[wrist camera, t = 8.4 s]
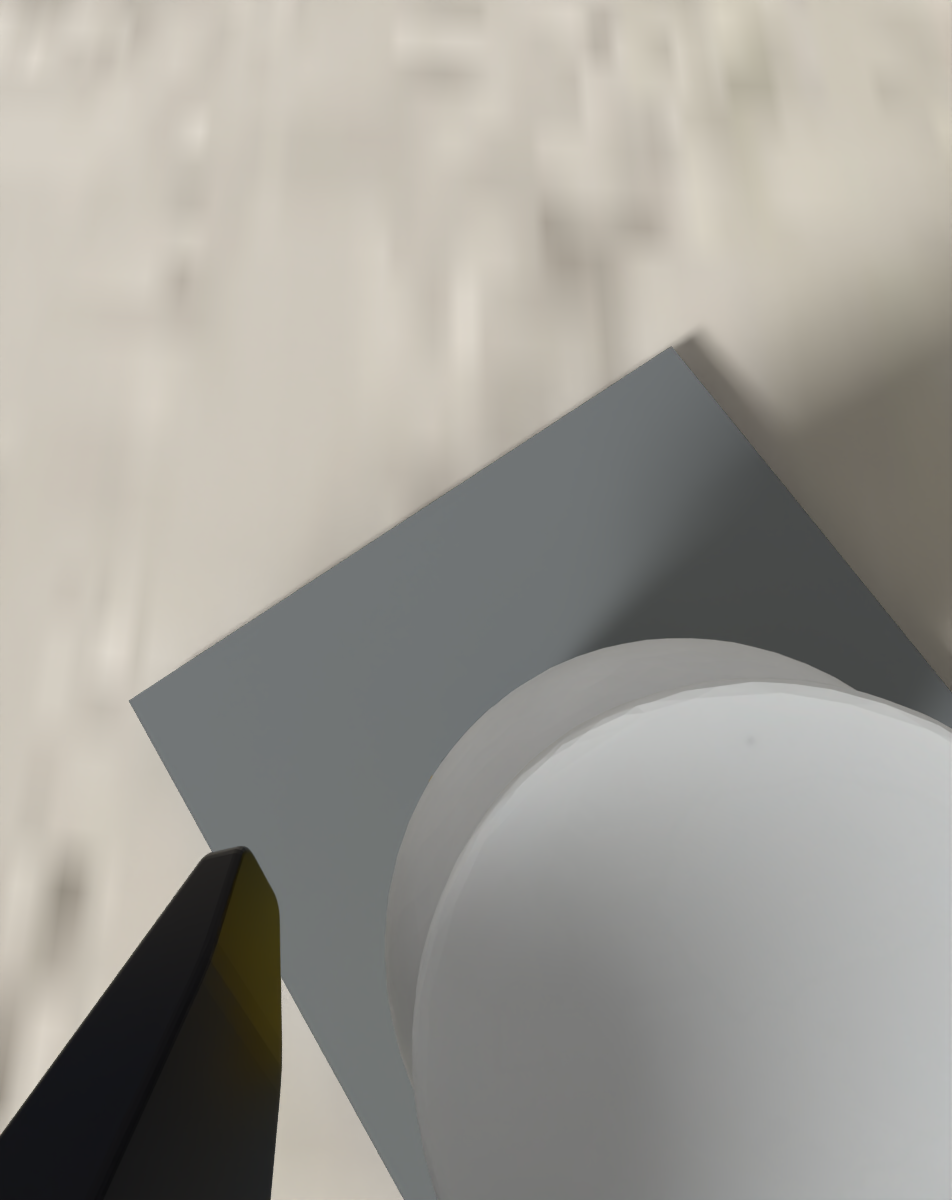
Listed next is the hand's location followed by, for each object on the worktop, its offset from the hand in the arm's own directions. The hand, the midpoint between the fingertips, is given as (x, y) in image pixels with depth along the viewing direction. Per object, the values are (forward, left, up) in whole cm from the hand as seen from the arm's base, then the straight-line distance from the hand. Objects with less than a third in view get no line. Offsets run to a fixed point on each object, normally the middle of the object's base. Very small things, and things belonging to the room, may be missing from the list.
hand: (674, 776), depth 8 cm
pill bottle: (-1, +1, -8) cm, 8 cm away
